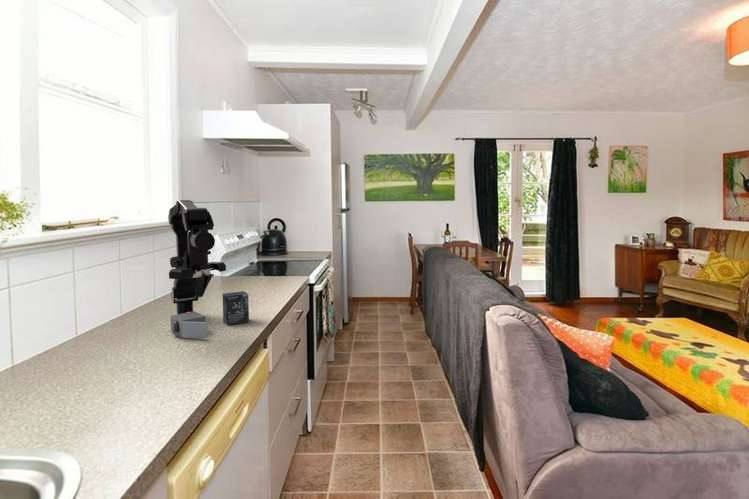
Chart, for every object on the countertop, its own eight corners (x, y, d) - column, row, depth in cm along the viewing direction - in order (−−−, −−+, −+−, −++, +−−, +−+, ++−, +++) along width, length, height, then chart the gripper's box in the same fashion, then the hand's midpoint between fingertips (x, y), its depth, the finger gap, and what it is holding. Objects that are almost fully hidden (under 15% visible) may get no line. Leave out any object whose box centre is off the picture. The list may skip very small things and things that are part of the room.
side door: (181, 337, 136) (180, 321, 136) (207, 337, 135) (206, 321, 135) (179, 337, 136) (178, 321, 135) (206, 338, 135) (205, 322, 134)
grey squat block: (167, 332, 142) (166, 315, 141) (195, 326, 149) (194, 310, 148) (176, 338, 136) (175, 320, 135) (206, 332, 142) (205, 315, 141)
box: (227, 325, 150) (226, 296, 149) (223, 322, 155) (221, 293, 154) (249, 322, 154) (248, 293, 153) (244, 318, 159) (243, 290, 158)
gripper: (199, 244, 146) (202, 289, 148) (153, 250, 129) (156, 301, 131) (226, 245, 142) (228, 292, 144) (182, 251, 125) (184, 304, 126)
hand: (200, 297), depth 136 cm, fingers closed
